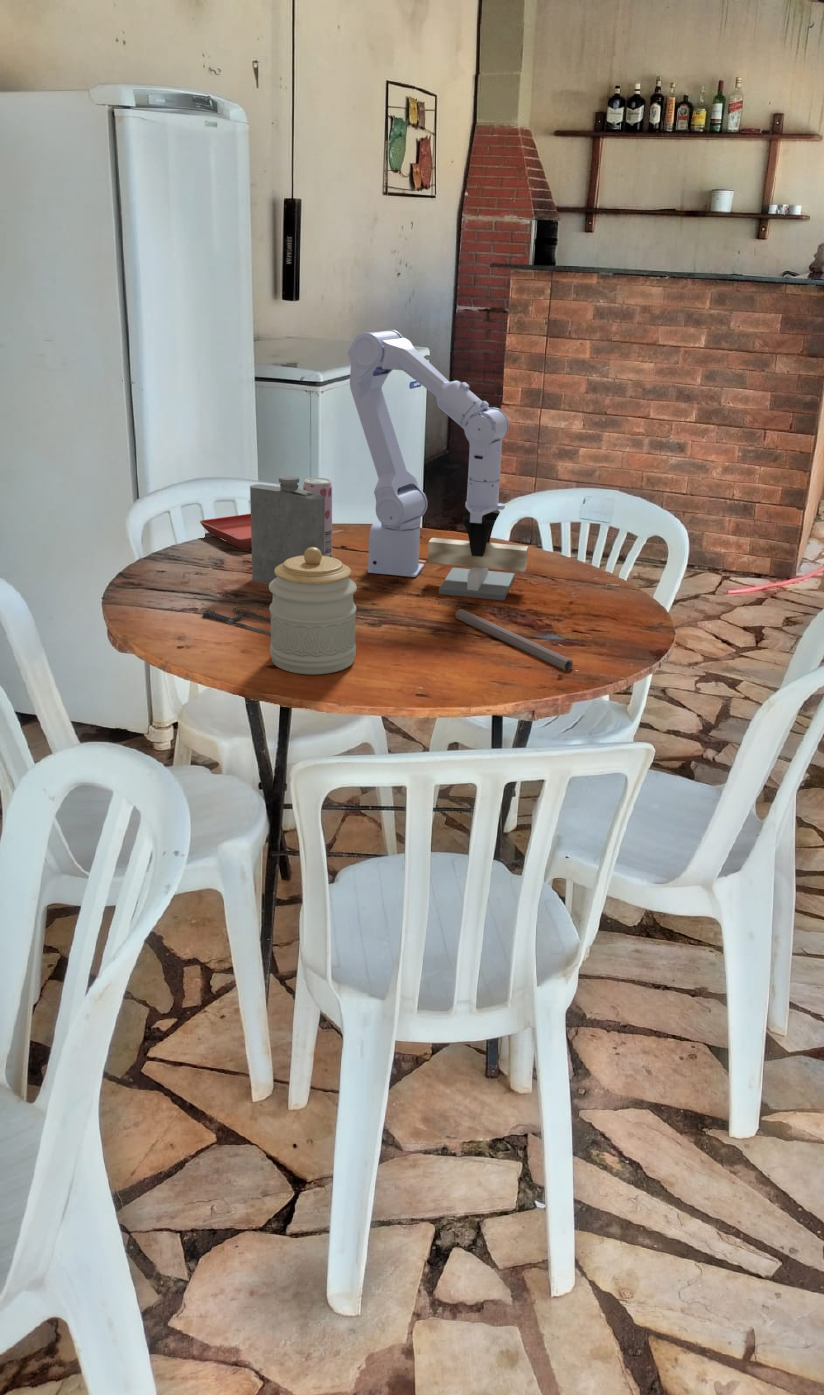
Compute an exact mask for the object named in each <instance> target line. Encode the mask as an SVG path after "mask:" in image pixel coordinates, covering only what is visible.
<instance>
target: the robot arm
mask: <svg viewBox="0 0 824 1395" xmlns="http://www.w3.org/2000/svg"><path fill="white" fill-rule="evenodd" d="M347 356H348V358H349V362H350V372H349V388H350V392H351V394H352V397H353V401H354V404H355V405H354V406H355V408H356V411H357V413H358V414H357V415H358V418H359V420H360V424H361V427H362V430H363V434H364V436H365V440H366V442H367V446H368V448H369V449H368V450H369V453H370V456H371V459H372V462H373V465H374V468H375V471H376V474H377V479H378V480H377V483H376V485H375V488H374V491H373V493H374V494H373V495H374V498H375V514H376V518H377V519H378V521H379V523H378V522H374V523H372V525H371V526H370V529H369V534H368V536H369V537H368V567H367V568H368V569H367V573H369V574H377V575H388V576H398V577H408V578H415V577H418V575H419V573H420V572H421V571H422V569H423V568H424V567H425V564H424V563H421V562H420V543H421V542H420V538H421V537H420V536H421V522H422V521H421V520H422V517H423V516H424V514H426V511H427V509H428V499H427V495H426V493H425V492H424V491H423V490H422V489H421V487H420V486H419V484H418V481H417V478H416V477H415V476H414V475H413V474H411V473H410V472H409V471H408V470H407V468H406V465H405V462H404V458H403V455H402V452H401V449H400V448H401V447H400V445H399V441H398V438H397V435H396V432H395V429H394V426H393V422H392V418H391V416H390V415H391V414H390V412H389V408H388V406H387V401H386V400H385V395H384V392H383V389H382V387H383V386H384V383H385V382H386V379H387V378H388V376H389V375H390V373H391V372H392V371H393V370H394V371H403V372H404V373H405V374H407V375H408V376H409V377H410V378H412V379H413V380H415V382H417V383H418V384H420V385H421V386H422V387H424V388H425V389H426V390H427V391H429V392H430V393H432V394H433V395H434V396H435V397H436V404H437V407H438V408H439V409H440V410H441V411H443V413H445V415H447V416H448V417H449V418H451V419H452V420H453V421H454V422H455V423H456V424H458V425H459V427H460V428H462V429H463V431H464V435H465V437H466V440H467V441H468V442H469V443H468V444H469V453H468V454H469V456H468V471H467V472H468V473H467V475H468V476H467V487H466V488H467V490H466V501H465V505H464V506H465V508H466V510H467V511H468V515H464V516H463V518H462V523H463V525H464V527H465V529H466V532H467V535H468V541H469V542H470V549H471V554H472V556H480V557H483V555H484V552H485V549H486V544H487V543H491V542H490V541H491V537H492V533H493V529H494V526H495V523H496V522H497V519H498V517H499V516H500V514H501V511H502V510H504V509H505V505H506V504H505V503H501V502H499V499H500V498H499V496H500V481H501V469H502V468H501V467H502V452H503V438H505V437H506V436H507V434H508V432H509V427H510V426H509V425H510V423H509V419H508V418H507V415H506V414H505V413H504V411H503V410H502V409H501V408H498V407H495V406H494V407H489V406H490V403H488V402H487V401H486V400H481V399H480V398H479V397H478V396H477V395H476V394H475V393H474V392H472V391H471V390H470V384H468V383H467V382H465V381H464V382H461V381H459V380H453V381H449V379H447V378H446V377H445V376H444V375H443V374H442V373H441V372H440V371H439V370H438V369H437V368H435V367H434V365H433V364H432V363H431V362H429V361H428V360H427V359H426V357H424V356H423V355H422V353H420V352H419V351H418V350H417V349H416V348H415V347H414V345H413V343H412V341H410V340H409V339H407V338H406V337H404V336H403V335H402V334H401V333H400V332H399V331H397V330H396V329H386V330H384V331H374V332H367V331H365V332H361V333H358V335H356V337H355V338H354V339H353V341H352V343H351V345H350V347H349V349H348V351H347ZM500 510H501V511H500Z"/></svg>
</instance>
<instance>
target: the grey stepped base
mask: <svg viewBox="0 0 824 1395" xmlns="http://www.w3.org/2000/svg"><path fill="white" fill-rule="evenodd" d="M515 575H516V574H515V573H513V572H504V571H491V570H489V569H488V568H478V567H470V568H461V567H452V568H451V569H450V571H449V573H447V575H446V577H445V578H444V580H443V582H442V584H441V585H440V586H439V588H438V595H444V596H445V595H446V596H456V597H464V598H465V597H466V598H473V599H474V598H475V599H483V600H484V599H485V600H497V601H505V599H506V598H507V596H508V593H509V591H510V589H511V587H512V584H513V582H514V580H515V577H516V576H515Z"/></svg>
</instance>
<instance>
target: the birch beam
mask: <svg viewBox="0 0 824 1395" xmlns="http://www.w3.org/2000/svg"><path fill="white" fill-rule="evenodd" d="M427 546H428V550H427V551H428V552H427V564H434V565H435V564H436V565H437V564H438V565H446V566H447V565H448V566H458V567H459V566H460V567H466V568H467V567H469V568H472V567H478V568H488V570H489V569H490V570H501V571H508V572H509V571H510V572H511V571H512V572H521V573H522V572H523V573H525V572H526V570H527V568H528V557H529V556H528V552H529V546H528V545H527V546H526V545H518V544H504V543H498V542H497V543H496V542H489V543H487V544H486V549H485V552H484V555H483V557H480V556H472V554H471V549H470V542H469V540H464V539H463V540H462V539H451V538H441V537H440V538H438V537H431V538H430V539H429V541H428V545H427Z"/></svg>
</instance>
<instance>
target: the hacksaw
mask: <svg viewBox="0 0 824 1395" xmlns="http://www.w3.org/2000/svg"><path fill="white" fill-rule="evenodd" d="M239 608H240V609H241V608H242V609H243V608H244V609H247V610H248V611H247V610H237V609H239ZM233 611H234V613H237V616H235V617H232V618H231V617H228V616H225V615H222V614H220V613H217V612H216V611H214V610H212V609H206V610H205V611H203V612H201V614H202V617H203V618H204V619H210V620H214V621H217V622H221V623H225V624H229V625H235V626H237V627H240V628H244V629H247V630H250V631H253V632H257V633H260V634H263V635H266V636H269V637H271V631H266V630H263V629H261V628H257V627H254V626H252V625H248V624H244V623H241V622H239V621H242V620H243V619H244V618H245V617H248V618H251V619H254V620H258V621H262V622H266V623H268V624H271V617H266V616H264V615H260V614H256V613H254V612H251V611H249V608H248V607H244V606H235V607H233Z"/></svg>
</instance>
